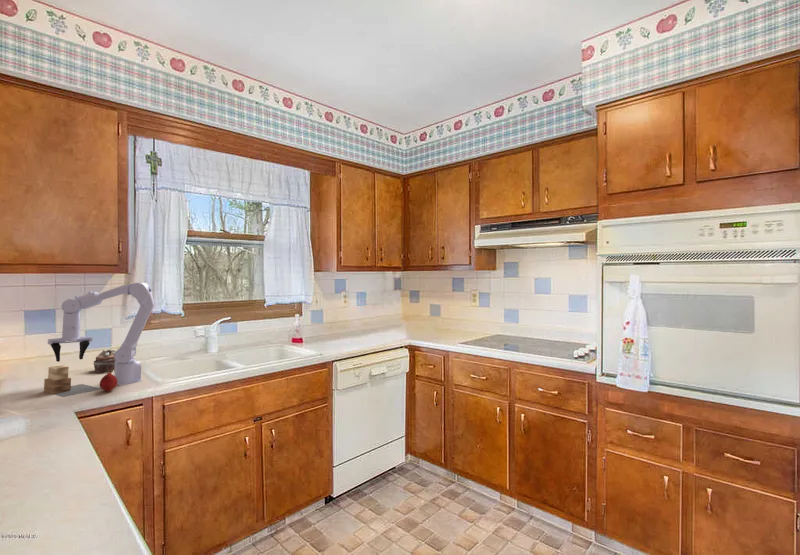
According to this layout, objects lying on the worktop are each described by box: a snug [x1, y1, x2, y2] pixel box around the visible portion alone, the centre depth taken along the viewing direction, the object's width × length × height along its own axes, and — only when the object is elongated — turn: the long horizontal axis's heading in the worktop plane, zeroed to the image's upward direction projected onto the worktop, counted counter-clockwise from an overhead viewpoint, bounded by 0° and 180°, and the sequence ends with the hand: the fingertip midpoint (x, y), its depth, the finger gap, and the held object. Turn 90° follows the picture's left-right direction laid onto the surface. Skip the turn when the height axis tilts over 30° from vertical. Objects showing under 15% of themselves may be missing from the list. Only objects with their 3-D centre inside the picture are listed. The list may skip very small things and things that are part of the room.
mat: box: [42, 383, 102, 398], centre depth 165 cm, size 14×14×1 cm
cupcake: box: [93, 349, 117, 374], centre depth 200 cm, size 10×10×10 cm
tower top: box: [43, 376, 72, 388], centre depth 162 cm, size 6×6×2 cm
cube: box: [47, 365, 70, 380], centre depth 162 cm, size 4×4×4 cm
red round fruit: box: [99, 372, 118, 393], centre depth 166 cm, size 6×6×8 cm
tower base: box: [43, 383, 72, 395], centre depth 162 cm, size 6×6×2 cm
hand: (69, 360), depth 173 cm, fingers open, 7 cm apart
